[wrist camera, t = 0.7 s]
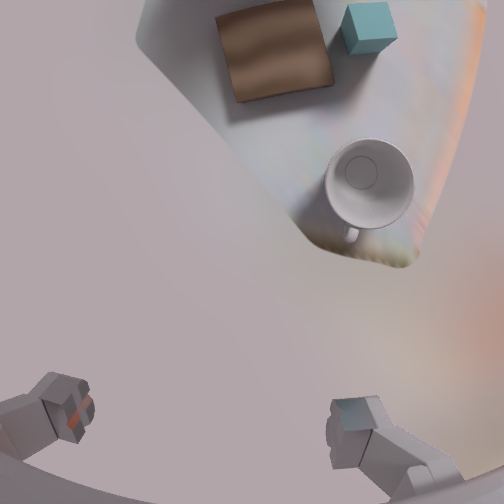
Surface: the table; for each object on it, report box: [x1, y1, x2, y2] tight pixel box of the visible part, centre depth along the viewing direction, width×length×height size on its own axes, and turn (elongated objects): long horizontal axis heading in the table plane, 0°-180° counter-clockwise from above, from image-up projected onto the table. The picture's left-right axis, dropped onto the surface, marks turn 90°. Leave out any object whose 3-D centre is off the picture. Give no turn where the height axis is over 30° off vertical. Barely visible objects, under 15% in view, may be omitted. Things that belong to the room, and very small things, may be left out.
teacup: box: [325, 137, 415, 243], centre depth 43 cm, size 12×15×10 cm
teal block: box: [341, 2, 398, 55], centre depth 33 cm, size 5×5×11 cm
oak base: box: [215, 0, 335, 103], centre depth 40 cm, size 14×14×4 cm
